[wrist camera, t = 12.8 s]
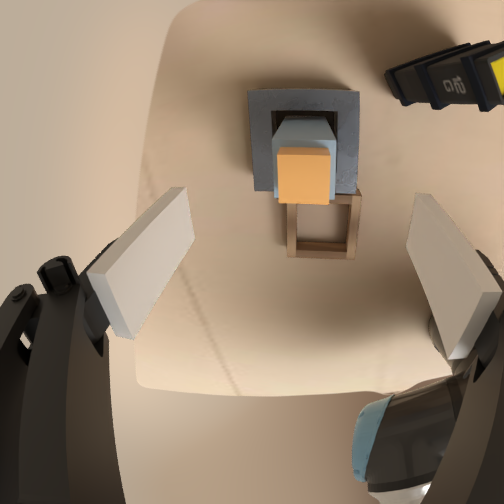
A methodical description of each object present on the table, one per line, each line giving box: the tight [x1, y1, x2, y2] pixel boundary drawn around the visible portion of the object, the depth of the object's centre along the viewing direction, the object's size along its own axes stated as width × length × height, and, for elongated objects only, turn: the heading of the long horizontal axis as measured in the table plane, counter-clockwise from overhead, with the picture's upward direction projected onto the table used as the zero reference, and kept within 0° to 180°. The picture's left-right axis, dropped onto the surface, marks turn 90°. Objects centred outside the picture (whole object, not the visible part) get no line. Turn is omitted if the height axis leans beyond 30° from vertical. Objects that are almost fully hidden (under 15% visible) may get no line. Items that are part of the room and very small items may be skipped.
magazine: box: [384, 40, 504, 112], centre depth 17 cm, size 4×13×15 cm, turn 121°
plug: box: [272, 116, 336, 205], centre depth 23 cm, size 4×4×15 cm
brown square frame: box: [287, 189, 362, 260], centre depth 33 cm, size 8×8×2 cm
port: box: [247, 88, 360, 194], centre depth 27 cm, size 10×10×4 cm
